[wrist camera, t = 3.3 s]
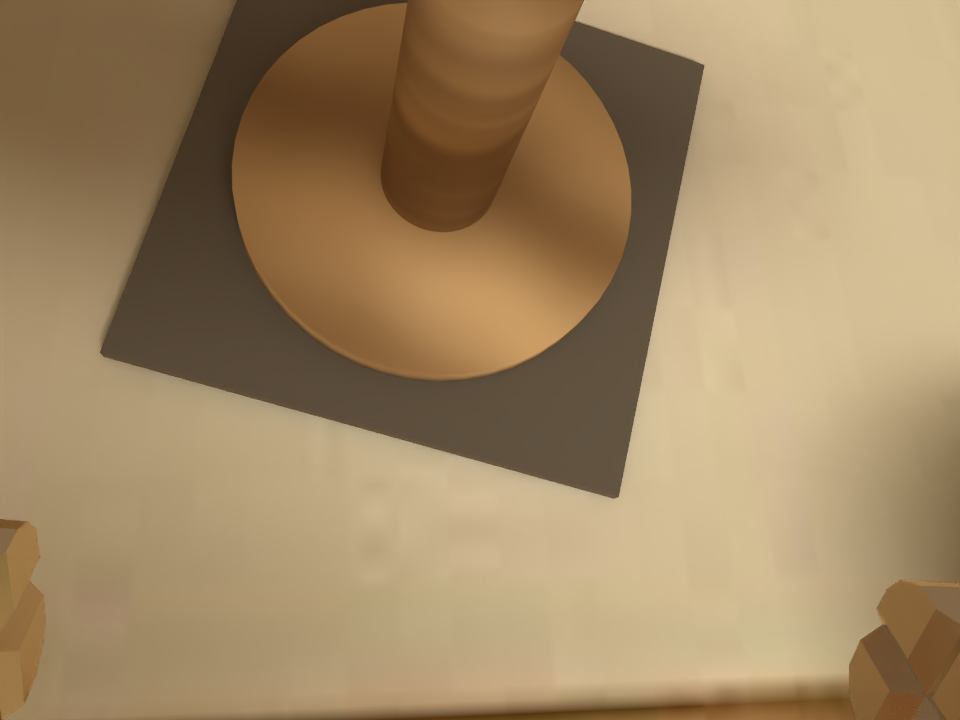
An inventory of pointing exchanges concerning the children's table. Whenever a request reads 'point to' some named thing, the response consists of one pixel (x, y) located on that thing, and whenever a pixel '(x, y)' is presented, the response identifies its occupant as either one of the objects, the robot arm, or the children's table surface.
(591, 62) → the mat
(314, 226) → the lid
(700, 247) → the children's table surface
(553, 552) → the children's table surface
